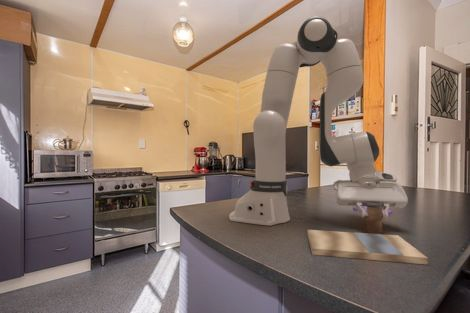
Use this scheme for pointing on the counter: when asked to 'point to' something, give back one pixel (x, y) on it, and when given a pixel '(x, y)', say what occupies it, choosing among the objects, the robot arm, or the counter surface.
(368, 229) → the peg
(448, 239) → the counter surface
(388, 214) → the sponges
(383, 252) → the plywood board
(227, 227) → the counter surface
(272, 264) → the counter surface
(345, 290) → the counter surface
